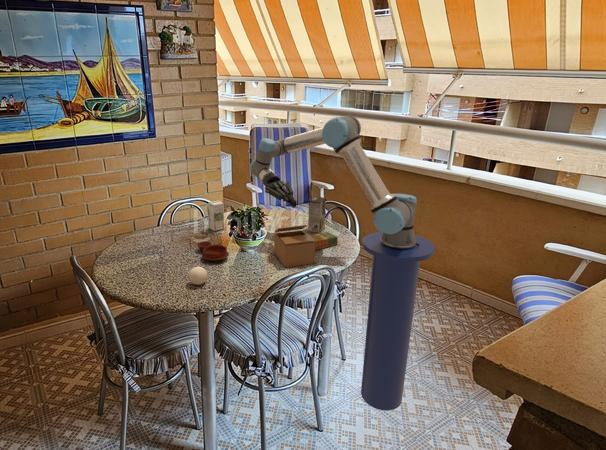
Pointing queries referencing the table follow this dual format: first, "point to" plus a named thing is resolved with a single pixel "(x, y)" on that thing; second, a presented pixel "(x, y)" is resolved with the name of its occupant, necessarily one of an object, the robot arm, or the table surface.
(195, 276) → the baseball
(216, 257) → the pottery
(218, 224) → the syrup box
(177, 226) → the table surface
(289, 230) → the flap
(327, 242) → the carton
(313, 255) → the box
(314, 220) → the coffee box
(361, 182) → the robot arm
